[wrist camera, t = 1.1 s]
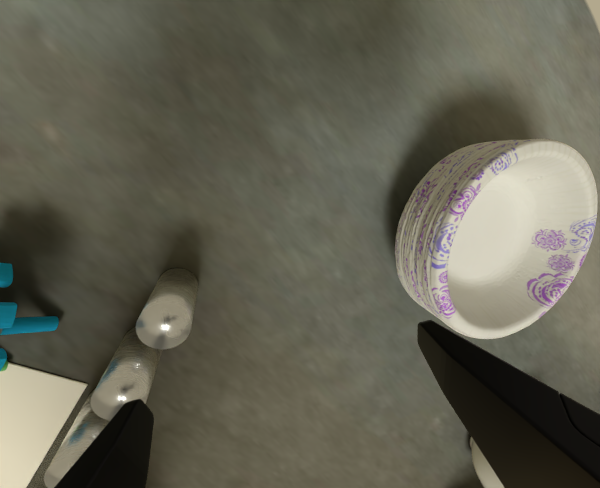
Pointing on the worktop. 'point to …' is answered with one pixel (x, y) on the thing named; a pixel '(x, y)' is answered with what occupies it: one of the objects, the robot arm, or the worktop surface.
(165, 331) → the posts
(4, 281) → the gear
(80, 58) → the worktop surface
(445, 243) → the paper bowls
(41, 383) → the pad
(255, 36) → the worktop surface
